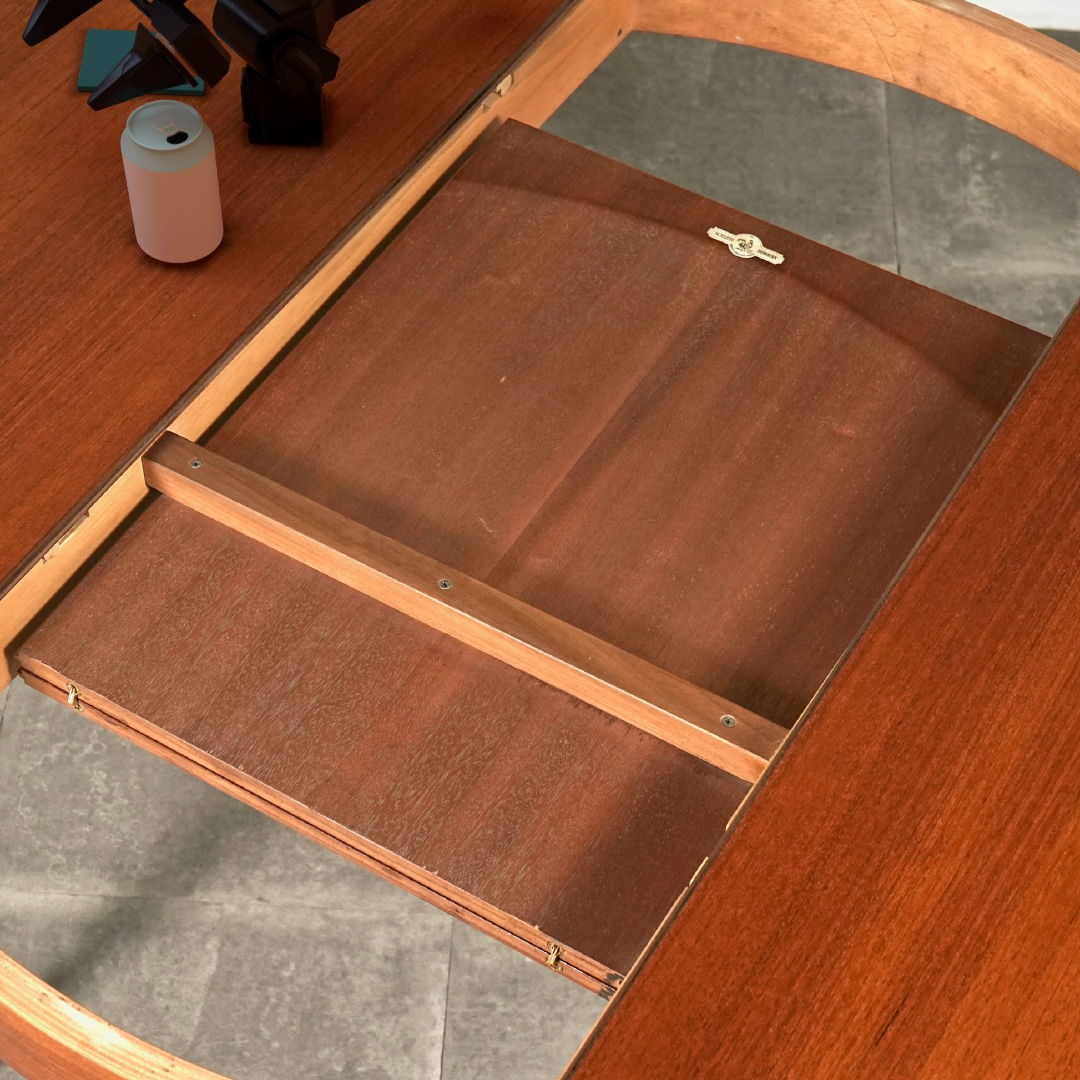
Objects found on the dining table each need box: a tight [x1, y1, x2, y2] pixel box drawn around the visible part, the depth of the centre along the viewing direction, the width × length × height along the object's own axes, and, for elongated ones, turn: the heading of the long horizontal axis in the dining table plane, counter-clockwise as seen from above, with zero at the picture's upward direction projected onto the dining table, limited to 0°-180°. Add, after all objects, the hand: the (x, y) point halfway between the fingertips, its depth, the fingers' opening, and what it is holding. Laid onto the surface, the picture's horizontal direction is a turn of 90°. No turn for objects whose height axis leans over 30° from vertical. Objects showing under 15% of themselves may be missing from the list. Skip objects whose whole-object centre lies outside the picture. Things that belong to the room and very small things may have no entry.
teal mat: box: [76, 28, 207, 97], centre depth 143 cm, size 11×8×1 cm
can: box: [120, 99, 224, 264], centre depth 126 cm, size 7×7×12 cm
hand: (57, 74), depth 120 cm, fingers open, 9 cm apart
